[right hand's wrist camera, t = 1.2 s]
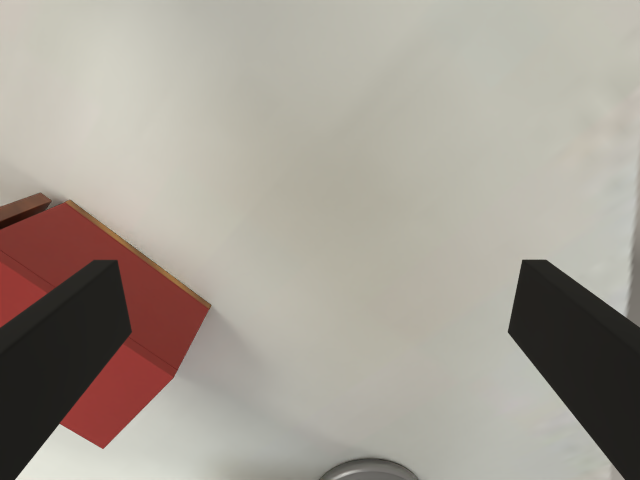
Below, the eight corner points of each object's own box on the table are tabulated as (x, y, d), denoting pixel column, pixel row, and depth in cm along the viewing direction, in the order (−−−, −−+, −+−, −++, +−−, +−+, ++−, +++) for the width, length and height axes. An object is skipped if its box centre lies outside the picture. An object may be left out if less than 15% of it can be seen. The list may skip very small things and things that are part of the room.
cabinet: (17, 272, 40) (-92, 336, 30) (69, 199, 38) (-30, 241, 27) (155, 364, 45) (103, 449, 34) (211, 305, 42) (173, 377, 31)
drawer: (-60, 223, 38) (-178, 263, 29) (-16, 150, 35) (-130, 170, 26) (129, 350, 43) (79, 417, 34) (180, 294, 40) (140, 351, 31)
